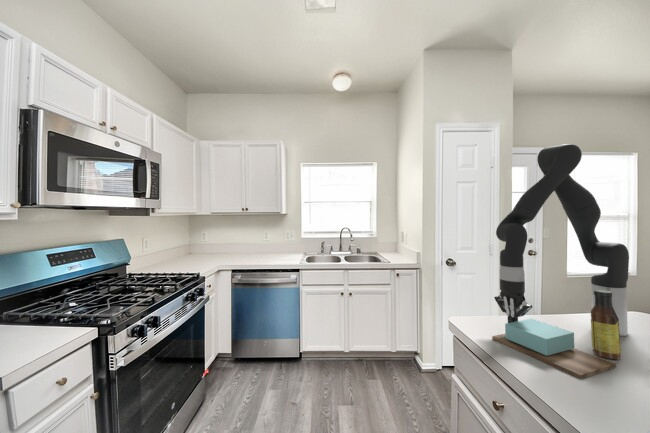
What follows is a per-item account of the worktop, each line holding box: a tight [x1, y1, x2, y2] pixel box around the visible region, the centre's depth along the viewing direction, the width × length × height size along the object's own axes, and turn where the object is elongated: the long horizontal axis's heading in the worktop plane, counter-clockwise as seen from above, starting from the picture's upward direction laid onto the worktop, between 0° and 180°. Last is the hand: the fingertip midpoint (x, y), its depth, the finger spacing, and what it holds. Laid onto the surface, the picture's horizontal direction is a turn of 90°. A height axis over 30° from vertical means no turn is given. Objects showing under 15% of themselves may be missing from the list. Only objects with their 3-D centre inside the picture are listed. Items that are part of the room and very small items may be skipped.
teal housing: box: [504, 318, 575, 356], centre depth 91 cm, size 13×13×5 cm
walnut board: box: [491, 333, 617, 379], centre depth 88 cm, size 16×26×1 cm, turn 20°
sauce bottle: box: [590, 290, 622, 360], centre depth 85 cm, size 7×6×20 cm
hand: (512, 326), depth 99 cm, fingers closed
